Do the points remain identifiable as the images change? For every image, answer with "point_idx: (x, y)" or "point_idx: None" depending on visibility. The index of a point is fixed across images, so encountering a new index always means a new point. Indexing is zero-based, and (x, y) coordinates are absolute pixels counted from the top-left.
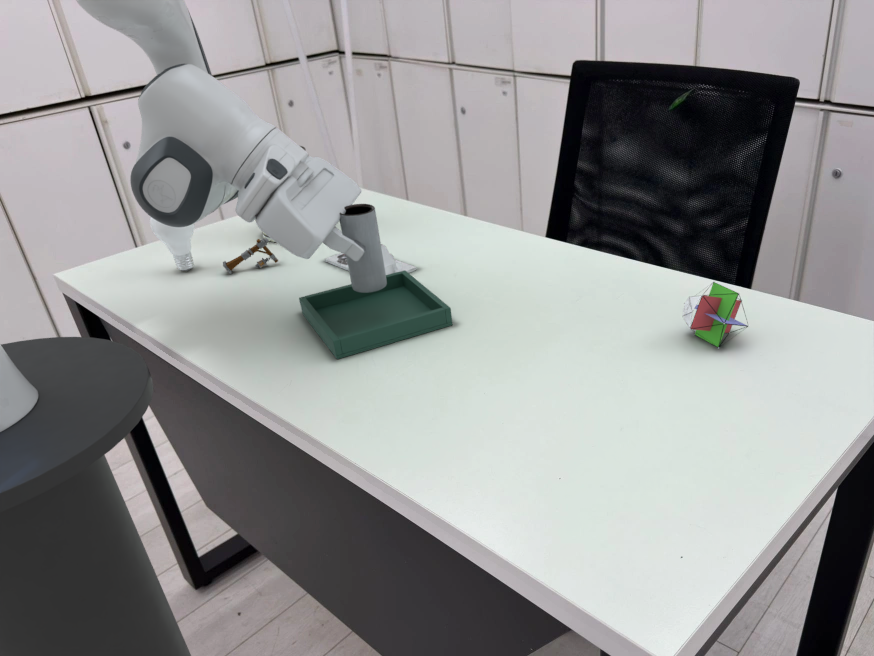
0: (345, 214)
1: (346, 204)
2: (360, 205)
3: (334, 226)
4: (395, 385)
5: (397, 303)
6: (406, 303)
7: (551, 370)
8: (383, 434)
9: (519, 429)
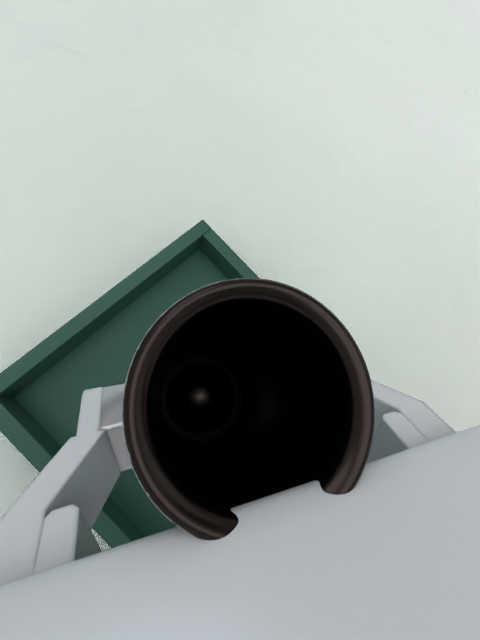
0: (234, 504)
1: (151, 563)
2: (148, 425)
3: (458, 432)
4: (386, 273)
5: (125, 371)
6: (124, 350)
7: (304, 94)
8: (471, 253)
9: (417, 123)
